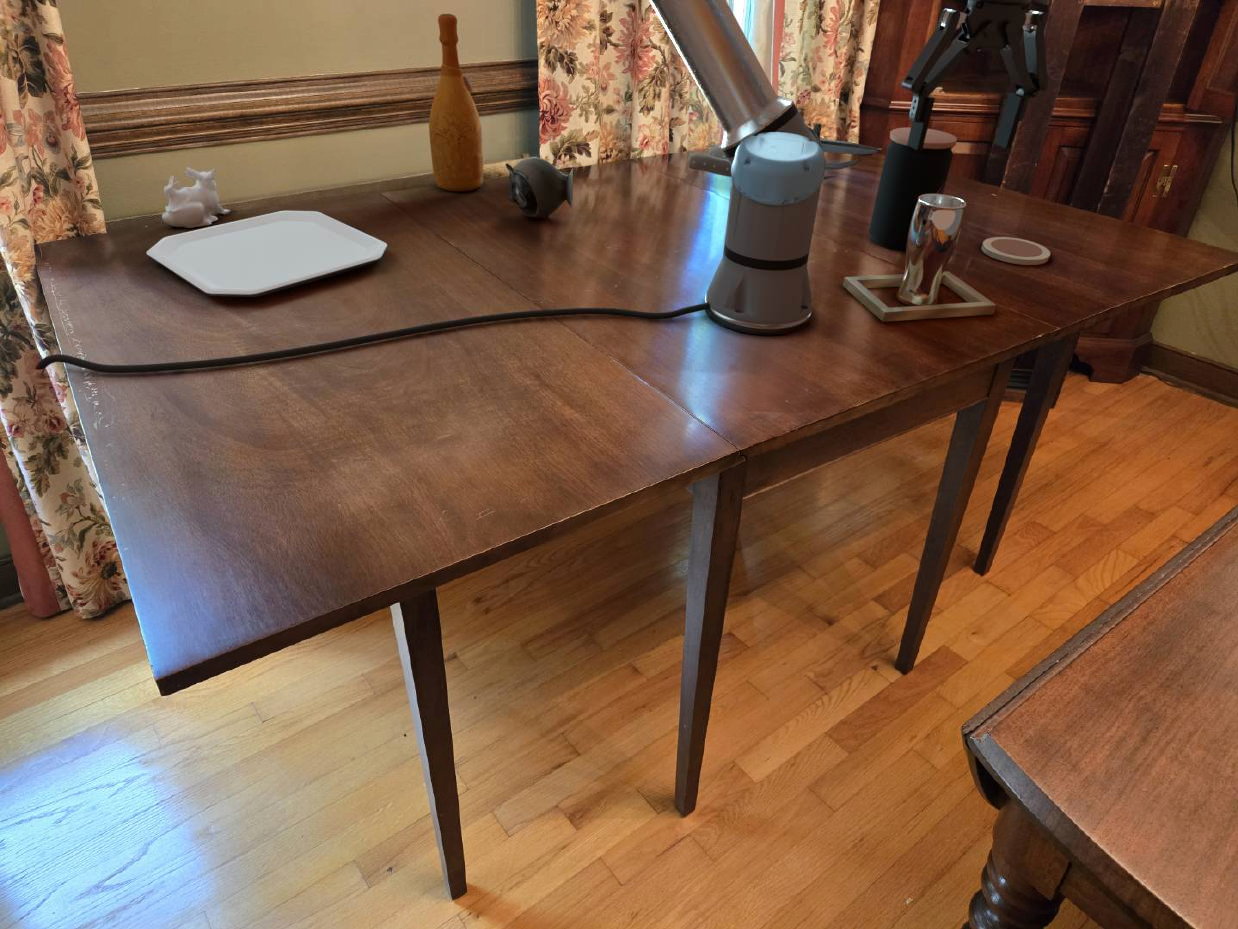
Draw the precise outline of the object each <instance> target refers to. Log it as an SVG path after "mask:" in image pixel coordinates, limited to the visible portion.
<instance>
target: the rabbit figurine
mask: <svg viewBox="0 0 1238 929" xmlns="http://www.w3.org/2000/svg"><path fill="white" fill-rule="evenodd" d="M215 172H216V168H212V169H211V170H209V171H198V170H196V169H193V168H191V167H188V166H186V167H185V170H184V176H185V177H187V178H191V179H195V184H193V185H192V186H183V187H181V188H179V189H176V188H177V187H179V186H180V185H181V181H180V180H176V181H175V182H174V180H175V176H174V175H171V176H170V177H169V180H168V184H167V185H165V186H164V188H163V193H164V196H165V197H167V198H168V205H167V206H166V205H165V207H164V209H165V213H162V215H161V218H162V221H163V222H164V223H165V224H166V225H169V226H171V227H175V228H188V229H193V228H197V227H204V226H210V225H212V224H213V223H212V222H215V221H218V220H219V218H218V217H217V216H216V215H212V213H211V212H213V213H218V214H221V215H224V216H225V215H228V214H229V213H231V210H230V209H228V208H223V207H222V205H220V204H219V200H220V199H219V195H218V192H217V183H216V180H215Z"/></svg>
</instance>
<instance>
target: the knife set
mask: <svg viewBox="0 0 1238 929" xmlns="http://www.w3.org/2000/svg"><path fill="white" fill-rule="evenodd" d="M821 131H822V124H821V123H815V124H814V126H813V132H814V133H815V134H816V135H817V136H818V138H819V140H820V141H821V144H822V146H823V149H824V153H831V154H843V155H858V157H857V159H854V160H849V161H848V160H847V161H841V162H831V161H830V162H829V161H825V171H832V170H844V169H845V168H848V167H853V166H855V165H857V164H858V163H859V161H860V159H861V156H868V157H871V156H873V155H875V154H877V153H878V152H880V151H881V150H883V148H880V147H874V146H870V145H866V144H860V143H857V142H851V141H843V140H833V139H828V138H827V139H826V138H821ZM688 168H689V169H690V170H697V171H702V172H707V173H711V174H713V175H714V174H715V175H718V176H724V177H728V178H732V174H731V168H732V166H731V164H730V163H729V161H728V159H727V157H726V156H725V154H724V152H723V150H722V148H721V146H717V145H710V146H709V147H708V154H704V153H698V152H691V153H689V155H688ZM838 176H839V175H836V174H835V175H826V174H825V175H824V179H823V181H825V180H829V179H832V178H834V177H838Z"/></svg>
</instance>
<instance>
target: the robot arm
mask: <svg viewBox="0 0 1238 929" xmlns="http://www.w3.org/2000/svg"><path fill="white" fill-rule="evenodd" d="M649 2H650V4H651V6H652V8H653V9H654V11H655V13H656V15H657V16H658V18H659V20H660V21H661V23H662V25H663V27H664V28H665V30H666V32H667V34H668V36H669V37H670V39H671V41H672V42H673V44H674V46H675V48H676V49H677V52H678V53H679V55H680V56H681V58H682V60H683V62H684V64H685V66H686V67H687V69H688V70H689V73H690V74H691V76H692V78H693V80H694V81H695V83H696V85H697V87H698V88H699V90H700V92H701V93H702V95H703V97H704V99H705V101H706V102H707V104H708V106H709V108H710V109H711V111H712V113H713V115H714V116H715V118H716V120H717V121H718V124H719V125H720V126H721V128H722V130H723V137H722V142H721V146H720V147H721V148H722V150H723V152H724V154H725V156H726V157H727V159H728V161H729V163H730V164H731V166H732V168H731V174H732V177H731V183H730V193H729V200H728V209H727V219H726V226H725V233H724V242H723V253H722V256H721V260H720V262H719V264H718V266H717V268H716V271H715V273H714V275H713V278H712V280H711V282H710V284H709V286H708V289H707V291H706V293H705V298H704V302H703V303H699V304H695V305H690V306H685V307H682V308H678V309H676V310H672V311H664V312H652V311H651V312H649V311H639V310H634V309H633V310H632V309H626V308H616V307H571V308H569V307H568V308H553V309H551V308H550V309H536V310H524V311H523V310H522V311H513V312H504V313H495V314H487V315H480V316H479V315H478V316H471V317H465V318H459V319H452V320H446V321H440V322H439V321H438V322H433V323H428V324H421V325H417V326H410V327H404V328H400V329H394V330H390V331H385V332H384V331H383V332H379V333H373V334H368V335H361V336H357V337H352V338H346V339H341V340H336V341H329V342H324V343H317V344H313V345H305V346H300V347H294V348H289V349H282V350H277V351H269V352H262V353H261V352H260V353H253V354H246V355H238V356H231V357H221V358H212V359H211V358H210V359H202V360H201V359H199V360H190V361H189V360H188V361H177V362H176V361H175V362H163V363H161V362H160V363H148V364H118V365H117V364H104V363H103V364H102V363H97V362H93V361H88V360H86V359H83V358H79V357H76V356H73V355H67V354H50V355H47V356H45V357H43V358H42V359H40V360H39V362H38V363H37V364H36V365H35V367H34V370H37V371H39V370H45V369H47V367H49V366H50V365H52V364H54V363H64V364H68V365H72V366H75V367H79V368H82V369H86V370H89V371H94V372H97V373H98V372H99V373H104V374H105V373H107V374H139V373H158V372H170V371H183V370H195V369H196V370H197V369H209V368H217V367H225V366H226V367H227V366H234V365H235V366H236V365H242V364H250V363H255V362H256V363H257V362H265V361H271V360H279V359H284V358H285V359H286V358H291V357H296V356H304V355H309V354H314V353H320V352H326V351H331V350H332V351H333V350H335V349H336V350H337V349H343V348H347V347H353V346H358V345H364V344H368V343H374V342H380V341H384V340H390V339H395V338H400V337H401V338H402V337H405V336H412V335H416V334H421V333H427V332H432V331H438V330H446V329H450V328H451V329H452V328H456V327H457V328H458V327H464V326H470V325H476V324H485V323H491V322H498V321H499V322H500V321H501V322H502V321H509V320H519V319H531V318H543V317H544V318H545V317H558V316H560V317H561V316H576V315H577V316H578V315H607V316H608V315H609V316H622V317H628V318H637V319H645V320H667V319H674V318H678V317H680V316H681V317H682V316H684V315H689V314H693V313H696V312H702V311H704V313H705V314H706V315H707V316H708V317H709V319H711V320H712V321H713V322H715V323H717V324H718V325H720V326H722V327H724V328H727V329H730V330H733V331H737V332H740V333H746V334H751V335H761V336H776V335H786V334H791V333H795V332H797V331H801V330H802V329H804V328H806V327H807V326H808V325H809V323H810V322H811V319H812V315H813V309H814V308H813V307H814V306H813V296H812V290H811V284H810V276H809V271H808V262H809V256H810V251H811V246H812V239H813V235H814V234H813V233H814V229H815V222H816V217H817V210H818V205H819V200H820V194H821V189H822V184H823V182H824V180H823V179H824V175H826V170H825V162H826V155H825V152H824V149H823V146H822V144H821V141H820V140H819V138H818V136H817V135H816V134H815V133H814V129H812V128H811V127H809V125H807V124H806V122H805V120H804V119H803V117H802V115H801V112H800V111H799V109H798V107H797V106H796V104H795V102H794V100H793V98H787V97H783V96H780V95H778V94H777V92H776V91H775V89H774V87H773V85H772V83H771V81H770V79H769V77H768V76H767V73H766V72H765V70H764V68H763V66H762V65H761V63H760V61H759V59H758V57H757V55H756V54H755V52H754V49H753V48H752V46H751V44H750V42H749V41H748V38H747V37H746V34H745V33H744V31H743V29H742V27H741V25H740V23H739V22H738V20H737V18H736V16H735V14H734V12H733V11H732V9H731V7H730V5H729V3H728V1H727V0H649ZM1030 2H1032V0H967V5H966V8H965V9H964V11H963V12H961V11H959V10H955V9H952V8H947V7H946V8H944V9H942V11H941V13H940V16H939V18H938V21H937V25H936V28H935V29H934V30H933V32H932V33H931V36H930V37H929V38H928V40H927V41H926V43H925V45H924V47H923V48H922V50H921V51H920V53H919V55H918V56H917V58H916V59H915V60H914V62H913V64H912V66H911V67H910V69H909V71H908V72H907V73H906V74H905V77H904V78H903V80H902V82H901V87H902V88H904V89H905V90H907V91H910V92H911V93H912V101H911V105H910V109H909V113H908V121H911V126H910V127H911V130H910V134H909V138H908V143H907V145H908V146H910V147H912V148H914V149H916V150H922V149H923V145H924V141H925V137H926V133H927V129H929V124H930V120H931V116H932V112H933V108H934V104H935V100H936V97H934V96H931V94H932V93H933V92H934V91H935V90H936V89H937V88H938V87H939V86H940V85H941V84H942V83H943V81H944V80H946V78H947V77H948V76H949V75H950V74H951V73H952V72H953V71H954V70H955V69H956V68H957V67H958V66H959V65H960V63H961V62H962V61H963V60H964V59H965V58H966V57H967V56H969V55H971V54H973V53H974V52H975V51H977V52H986V51H993V52H998V53H1000V54H1001V57H1002V60H1003V63H1004V65H1005V67H1006V70H1007V72H1008V75H1009V79H1010V80H1011V83H1012V86H1013V88H1014V91H1015V92H1016V93H1014V92H1009V93H1008V95H1007V98H1006V101H1005V105H1004V108H1003V112H1002V116H1001V119H1000V122H999V126H998V129H997V133H996V135H995V140H994V144H995V145H997V146H999V147H1002V148H1004V149H1011V148H1012V145H1013V143H1014V140H1015V136H1016V133H1017V129H1018V125H1019V122H1022V121H1023V120H1024V118H1025V116H1026V112H1027V109H1028V106H1029V102H1030V100H1031V98H1032V99H1035V98H1036V97H1037V96H1038V94H1039V92H1045V91H1046V90H1047V89H1048V87H1049V79H1048V67H1047V55H1046V54H1047V53H1046V42H1045V29H1046V25H1047V19H1048V14H1047V13H1046V12H1043V11H1038V10H1035V9H1034V10H1033V9H1031V10H1029V11H1028V12H1027V6H1028V4H1030ZM960 28H961V29H962V31H960V32H959V34H958V35H957V36H956V37H955V38H954V39H953V40H952V38H953V37H954V35H955V33H956V31H957V30H959V29H960ZM1021 29H1022V30H1023V43H1024V53H1025V54H1024V56H1025V59H1024V56H1023V52H1022V51H1021V49H1022V45H1021V42H1020V38H1019V37H1018V33H1019V31H1020V30H1021ZM951 40H952V41H951ZM950 41H951V45H950V47H949V48H948V49H946V48H947V47H948V45H949V43H950ZM945 49H946V51H945Z"/></svg>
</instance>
